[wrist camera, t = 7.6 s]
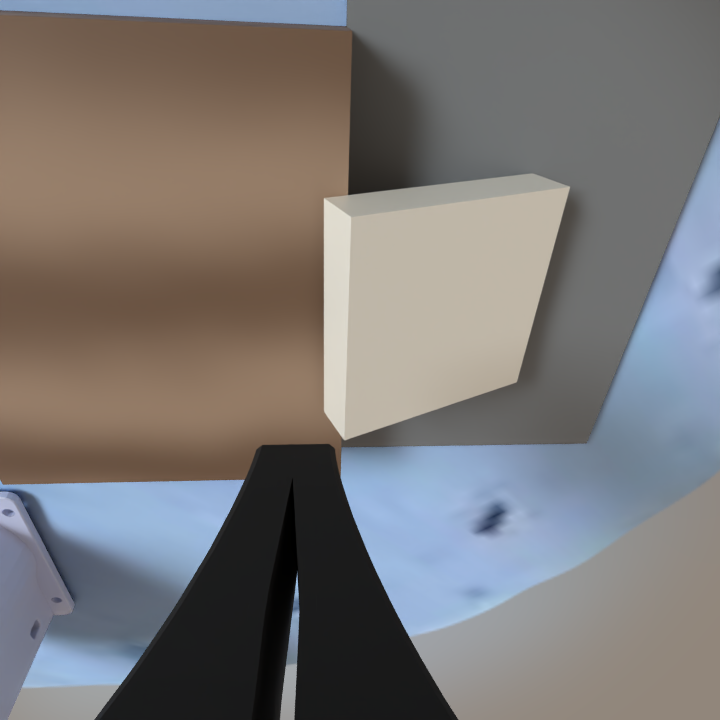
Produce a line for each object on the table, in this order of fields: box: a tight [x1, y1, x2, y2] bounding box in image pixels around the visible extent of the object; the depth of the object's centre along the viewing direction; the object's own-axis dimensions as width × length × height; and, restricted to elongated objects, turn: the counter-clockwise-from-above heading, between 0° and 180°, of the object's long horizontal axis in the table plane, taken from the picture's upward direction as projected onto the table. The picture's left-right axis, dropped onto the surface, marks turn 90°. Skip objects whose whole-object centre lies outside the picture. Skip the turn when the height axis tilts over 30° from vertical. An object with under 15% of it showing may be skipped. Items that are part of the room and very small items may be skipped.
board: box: [0, 10, 352, 485], centre depth 16 cm, size 14×12×3 cm
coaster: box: [324, 173, 570, 440], centre depth 16 cm, size 7×7×2 cm
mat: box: [341, 0, 720, 447], centre depth 18 cm, size 16×11×1 cm
